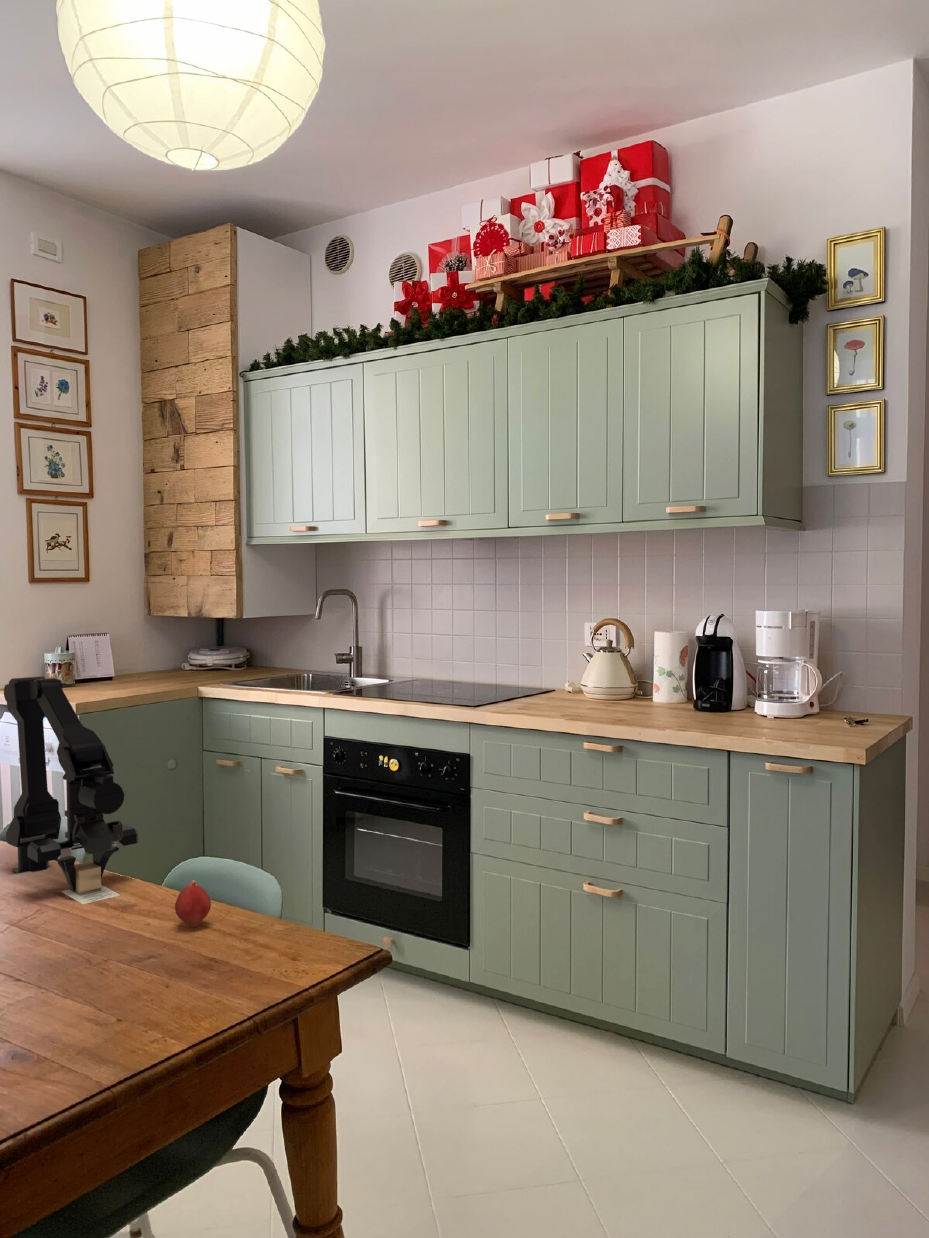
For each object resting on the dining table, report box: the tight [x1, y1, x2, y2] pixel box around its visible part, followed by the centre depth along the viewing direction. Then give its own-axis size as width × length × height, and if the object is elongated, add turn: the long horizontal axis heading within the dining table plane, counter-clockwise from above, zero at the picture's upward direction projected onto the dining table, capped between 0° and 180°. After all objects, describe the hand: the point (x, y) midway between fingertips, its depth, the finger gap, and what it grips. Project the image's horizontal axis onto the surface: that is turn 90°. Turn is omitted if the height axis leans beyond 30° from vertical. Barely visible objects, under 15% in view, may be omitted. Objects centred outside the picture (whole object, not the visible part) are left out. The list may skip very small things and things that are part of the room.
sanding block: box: [68, 861, 102, 896], centre depth 176 cm, size 5×4×4 cm
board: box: [61, 884, 121, 905], centre depth 174 cm, size 10×7×1 cm
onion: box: [174, 880, 212, 928], centre depth 159 cm, size 6×6×8 cm
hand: (85, 887), depth 176 cm, fingers closed on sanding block, 4 cm apart
